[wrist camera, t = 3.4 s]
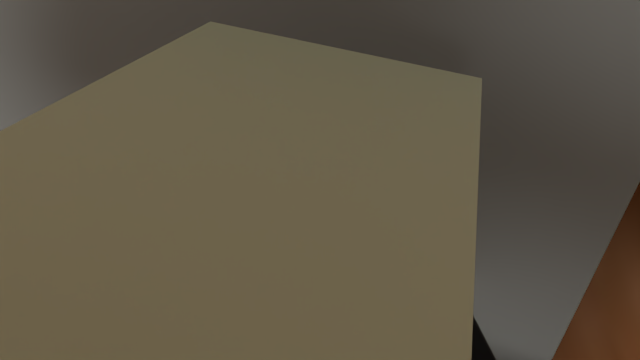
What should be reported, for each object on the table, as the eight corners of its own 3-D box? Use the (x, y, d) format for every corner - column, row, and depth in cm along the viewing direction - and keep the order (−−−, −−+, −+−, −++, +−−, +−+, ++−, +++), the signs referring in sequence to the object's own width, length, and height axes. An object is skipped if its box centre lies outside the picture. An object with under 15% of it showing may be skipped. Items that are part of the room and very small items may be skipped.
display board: (952, -539, 7) (1426, -962, 3) (527, 368, 16) (538, 513, 12) (-192, -570, 10) (-572, -818, 6) (-19, 210, 19) (-139, 289, 15)
